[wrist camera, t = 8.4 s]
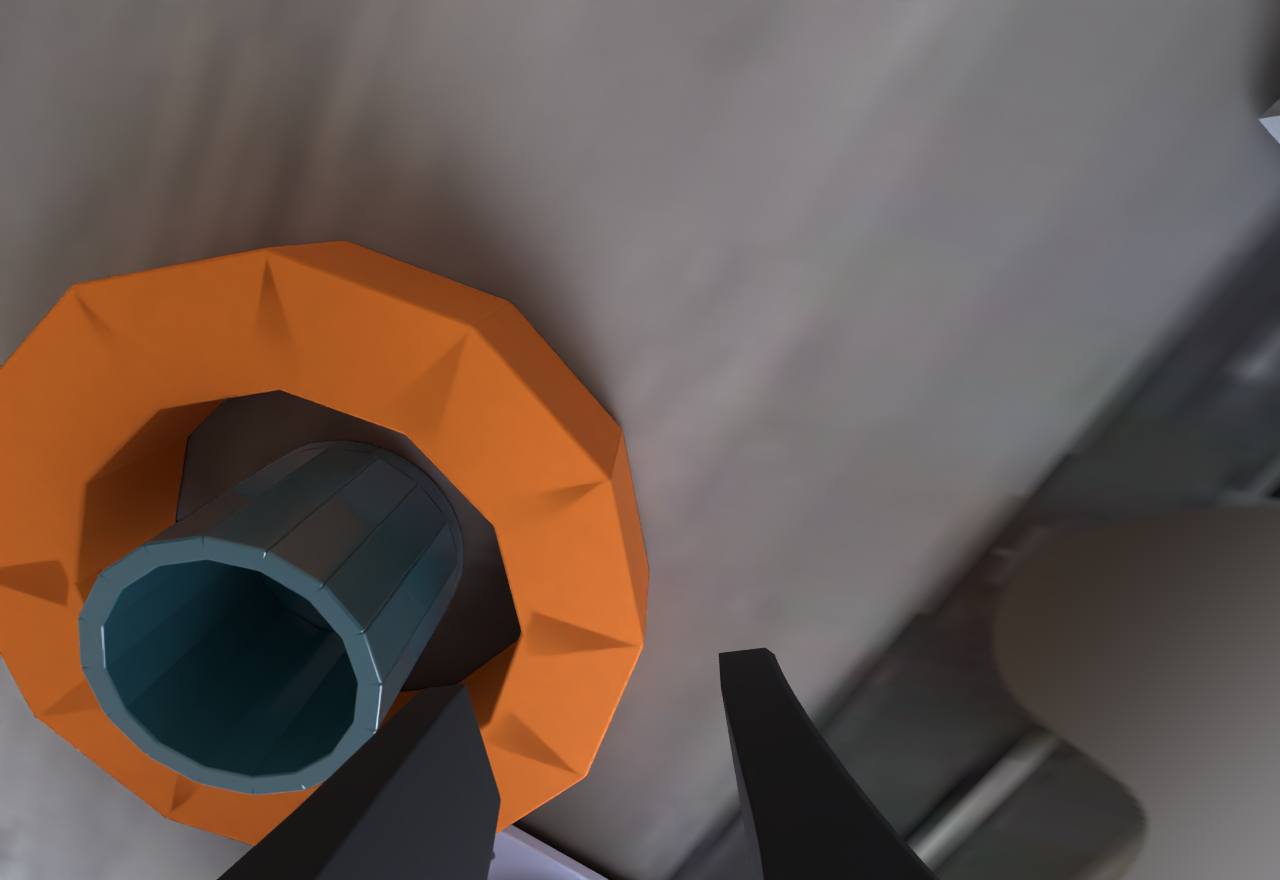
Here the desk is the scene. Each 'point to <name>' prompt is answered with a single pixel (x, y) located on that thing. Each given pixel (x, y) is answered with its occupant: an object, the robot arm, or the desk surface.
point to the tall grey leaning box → (1272, 120)
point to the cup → (275, 618)
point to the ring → (359, 386)
